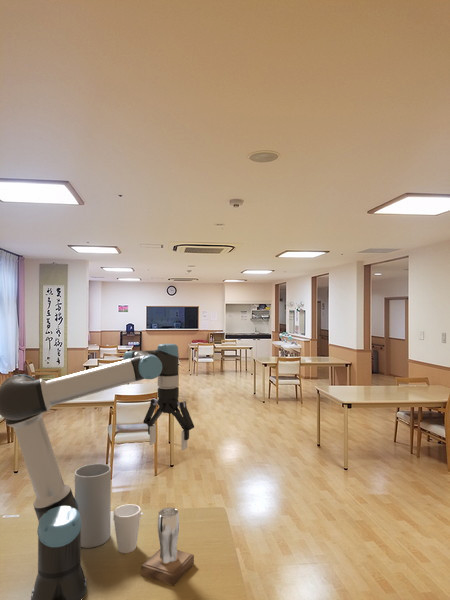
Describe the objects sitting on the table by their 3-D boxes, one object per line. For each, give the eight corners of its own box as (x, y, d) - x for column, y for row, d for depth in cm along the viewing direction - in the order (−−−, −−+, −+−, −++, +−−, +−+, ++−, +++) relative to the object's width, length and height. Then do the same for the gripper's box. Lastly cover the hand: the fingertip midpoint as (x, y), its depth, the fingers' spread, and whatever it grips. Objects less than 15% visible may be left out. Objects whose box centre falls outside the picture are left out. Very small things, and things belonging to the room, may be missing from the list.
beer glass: (182, 554, 134) (182, 508, 135) (174, 567, 128) (174, 518, 128) (162, 551, 136) (162, 505, 137) (154, 563, 129) (153, 515, 130)
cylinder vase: (69, 538, 150) (69, 469, 151) (101, 526, 159) (101, 461, 159) (82, 553, 141) (83, 480, 142) (116, 539, 149) (116, 470, 150)
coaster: (141, 575, 129) (141, 564, 129) (163, 554, 140) (163, 545, 140) (173, 586, 124) (173, 575, 124) (193, 564, 135) (193, 554, 135)
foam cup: (133, 557, 138) (133, 518, 139) (108, 554, 140) (108, 515, 141) (144, 541, 148) (144, 505, 148) (120, 539, 150) (121, 503, 150)
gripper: (203, 387, 146) (203, 447, 145) (146, 382, 156) (146, 438, 156) (192, 391, 139) (193, 454, 138) (133, 386, 150) (133, 444, 149)
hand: (168, 446), depth 147 cm, fingers open, 13 cm apart
